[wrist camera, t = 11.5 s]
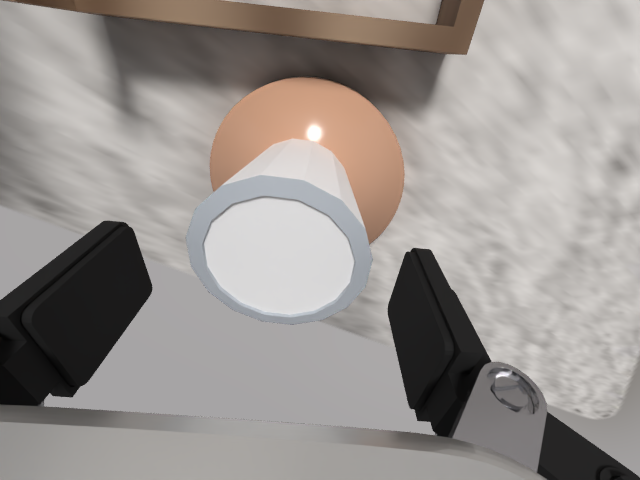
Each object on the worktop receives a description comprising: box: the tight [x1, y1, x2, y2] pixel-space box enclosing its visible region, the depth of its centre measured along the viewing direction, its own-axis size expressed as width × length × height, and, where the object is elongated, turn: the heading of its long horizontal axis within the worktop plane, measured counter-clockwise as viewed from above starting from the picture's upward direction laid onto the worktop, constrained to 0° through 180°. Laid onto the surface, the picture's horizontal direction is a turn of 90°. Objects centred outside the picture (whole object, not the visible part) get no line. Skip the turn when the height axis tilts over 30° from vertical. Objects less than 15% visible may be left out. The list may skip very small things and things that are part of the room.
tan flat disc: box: [210, 76, 404, 244], centre depth 16 cm, size 11×11×1 cm
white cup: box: [186, 138, 373, 325], centre depth 13 cm, size 7×7×7 cm
